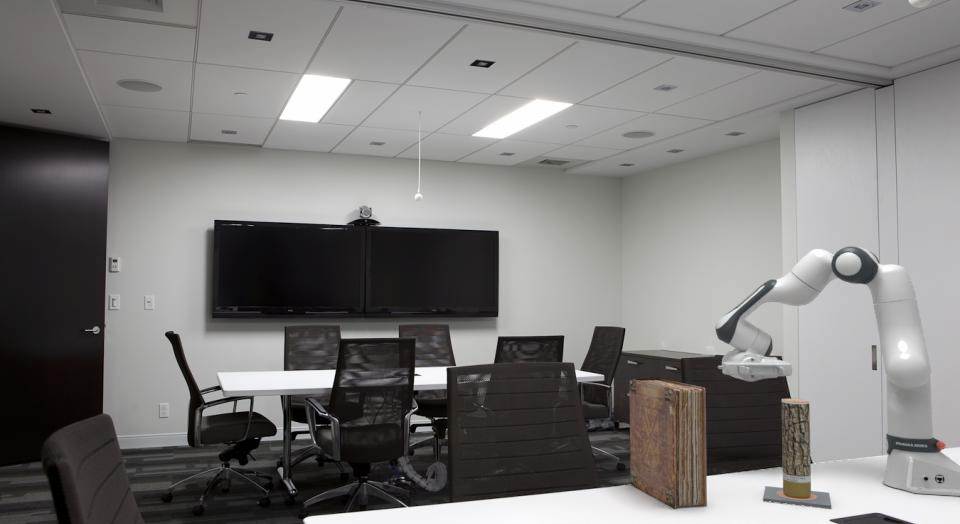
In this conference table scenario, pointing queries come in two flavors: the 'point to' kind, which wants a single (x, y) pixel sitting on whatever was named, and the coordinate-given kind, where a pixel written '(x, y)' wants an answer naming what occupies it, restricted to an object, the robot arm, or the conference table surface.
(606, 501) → the conference table surface
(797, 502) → the card
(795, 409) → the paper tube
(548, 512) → the conference table surface
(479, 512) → the conference table surface
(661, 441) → the book
